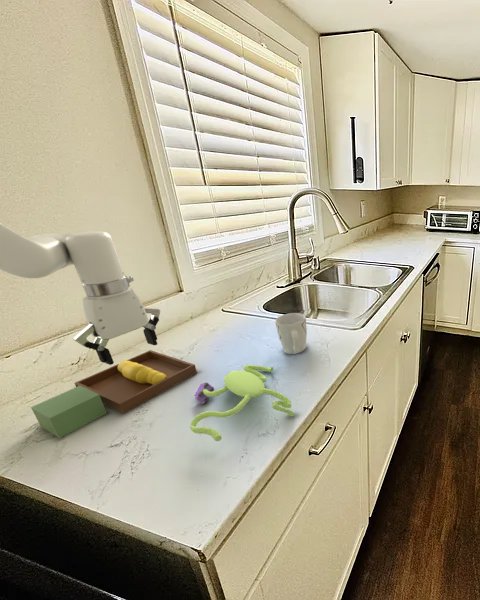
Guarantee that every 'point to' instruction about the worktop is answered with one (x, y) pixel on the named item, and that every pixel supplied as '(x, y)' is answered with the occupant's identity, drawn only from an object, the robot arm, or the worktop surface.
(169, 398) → the worktop surface
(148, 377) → the yellow stacked capsules
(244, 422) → the worktop surface
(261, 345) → the worktop surface
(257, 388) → the figurine
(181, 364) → the tray
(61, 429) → the block
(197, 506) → the worktop surface
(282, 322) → the mug
